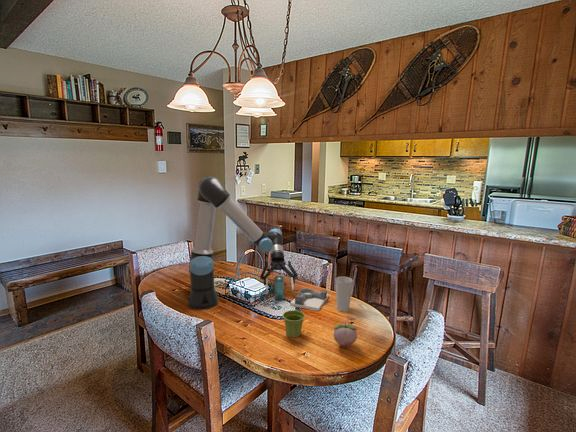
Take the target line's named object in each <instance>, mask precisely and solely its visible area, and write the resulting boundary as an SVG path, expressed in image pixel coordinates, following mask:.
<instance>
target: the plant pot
mask: <svg viewBox="0 0 576 432" xmlns="http://www.w3.org/2000/svg"><path fill="white" fill-rule="evenodd" d="M305 317H306V315H305V313H304V312H303V311H299V310H295V309H294V310H293V309H292V310H287V311H285V312H283V314H282V318H283V320H284V325H285V326H284V327H285V332H286V333H285V334H286V336H287V337H290V338H298V337H300V336H301V334H302V327H303V323H304V319H305Z"/></svg>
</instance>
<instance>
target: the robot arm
mask: <svg viewBox="0 0 576 432" xmlns="http://www.w3.org/2000/svg"><path fill="white" fill-rule="evenodd" d="M197 187H198V193H197V202H198V203H199V210H198V216H197V217H198V218H197V227H196V235H195V243H194V244H195V245H194V247H193V248H192V249H191V252H190V253H191V254H190V259H189V267H188V268H189V275H190V276H189V277H190V293H189V294H188V295H189V296H188V300H187V304H188V305H187V306H188V307H189V308H191V309H193V310H207V309H210V308H213V307H215V306H217V304H218V303H219V296H218V294H217V292H216V288H215V271H214V268H215V264H214V261H213V259H214V250H213V249H212V242H213V237H214V236H213V235H214V227H215V220H216V219H215V218H216V212H217V209H220V211H222V212H223V214H224V215H225V216H226V217H228V219H229V220H231V222H232V223H233V224H235V226H237V228H239V230H240V231H241V232H242V233H243V234H244V235H245V236H246V237H247V238H248V243H249V244H252V245H254V246H256V247H257V248H258V250H259V251H261V252H263V253H264V254H265V253H269V252H270V262H268V261H265V265H264V268H263V269H262V272H261V274H260V276H259V279H260V280H263V286H265V292H266V293H268V292H269V288H268V284H269V282H268V277H269V276H271V274H272V273H273V272H274V271H284V273H286V275H288V276H289V277H290V283H291V284H290V285H291V291H294V289H295V288H294V287H295V284H296V279H297V278H298V275H299V274H298V273H297V271H296V270H295V268H294V267H293V265H292V264H291V261H290V260H288V261H286V260H285V251H284V243H283V242H284V240H283V239H284V237H283V232H282V230H281V229H279V228H272V229H270V230H269V231H262V229H261V228H260V227H259V226H258V225H257V224H256V223H255V222H254V221H253V220H252V219H251V218H250V217H249V215H247V214H246V212H244V211H243V209H241V207H240V206H239V205H238V204H237V203H236V202H235V201H234V200H233V199H232V198H231V194H230V193H229V192H228V191H227V189H226V188H225V187H224V185H223V183H222V182H221V181H220V180H219V179H218V178H217V177H215V176H212V175H211V176H210V175H208V176H205V177H204V176H203V178H201V180H200V181H199V182H198V185H197ZM270 266H271V267H270ZM268 267H270V269H269V270H268ZM287 267H288V268H287ZM267 270H268V271H267ZM266 271H267V272H266Z"/></svg>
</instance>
